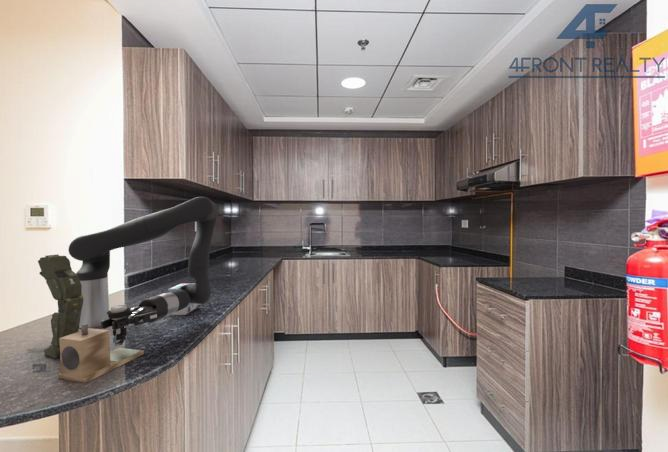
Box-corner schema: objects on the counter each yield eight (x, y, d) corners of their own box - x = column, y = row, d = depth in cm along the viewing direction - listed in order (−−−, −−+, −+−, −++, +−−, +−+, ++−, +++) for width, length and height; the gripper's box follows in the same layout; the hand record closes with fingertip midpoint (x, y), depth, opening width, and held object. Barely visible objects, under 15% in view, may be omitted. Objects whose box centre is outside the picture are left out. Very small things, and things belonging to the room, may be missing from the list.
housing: (84, 383, 74) (82, 331, 74) (57, 378, 77) (55, 328, 76) (143, 354, 90) (141, 311, 89) (119, 351, 92) (117, 309, 92)
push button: (128, 346, 85) (126, 309, 85) (104, 349, 83) (102, 312, 83) (132, 337, 91) (131, 303, 91) (110, 340, 89) (109, 305, 89)
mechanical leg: (101, 349, 92) (79, 249, 93) (74, 360, 85) (51, 252, 86) (71, 354, 96) (51, 259, 98) (42, 365, 89) (21, 262, 91)
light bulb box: (185, 315, 125) (184, 288, 125) (168, 315, 125) (167, 288, 125) (197, 307, 136) (196, 282, 136) (181, 308, 136) (180, 283, 136)
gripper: (141, 294, 102) (86, 310, 86) (177, 296, 98) (127, 313, 82) (142, 316, 103) (88, 337, 86) (178, 319, 99) (128, 341, 82)
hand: (107, 325), depth 84 cm, fingers closed on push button, 3 cm apart
